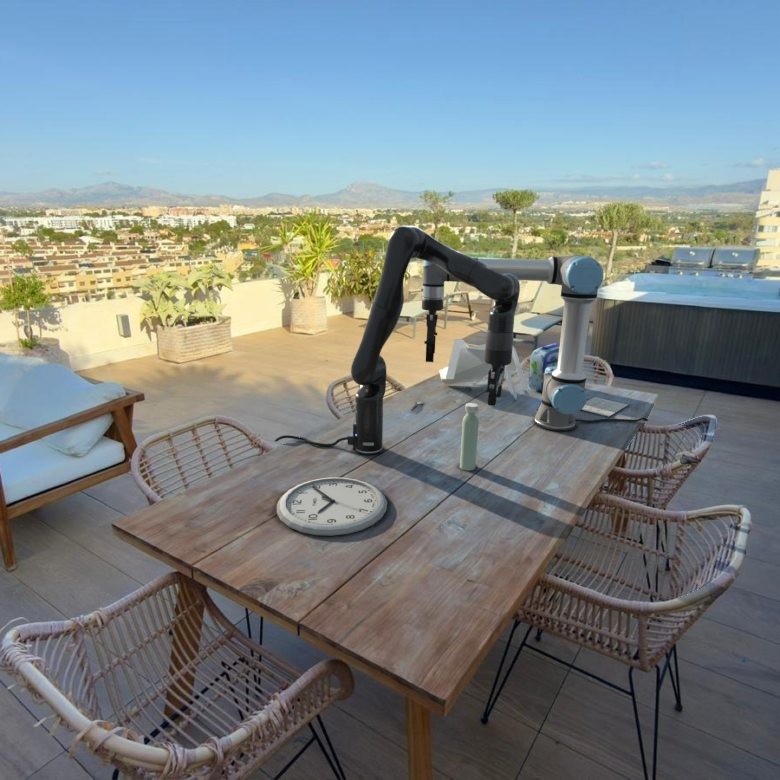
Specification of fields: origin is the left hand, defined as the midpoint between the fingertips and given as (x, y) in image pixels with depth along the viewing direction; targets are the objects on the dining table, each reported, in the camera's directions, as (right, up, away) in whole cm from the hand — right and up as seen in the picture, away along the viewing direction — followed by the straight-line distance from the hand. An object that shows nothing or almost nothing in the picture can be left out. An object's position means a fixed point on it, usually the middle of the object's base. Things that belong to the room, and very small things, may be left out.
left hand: (494, 400), depth 152 cm
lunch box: (+46, +4, +100) cm, 110 cm away
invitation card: (+61, -4, +74) cm, 96 cm away
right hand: (-16, +15, +38) cm, 43 cm away
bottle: (-6, -21, +15) cm, 27 cm away
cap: (-5, -2, +9) cm, 11 cm away
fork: (-19, -4, +71) cm, 73 cm away
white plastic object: (+11, +2, +91) cm, 92 cm away
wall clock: (-46, -28, -9) cm, 55 cm away
